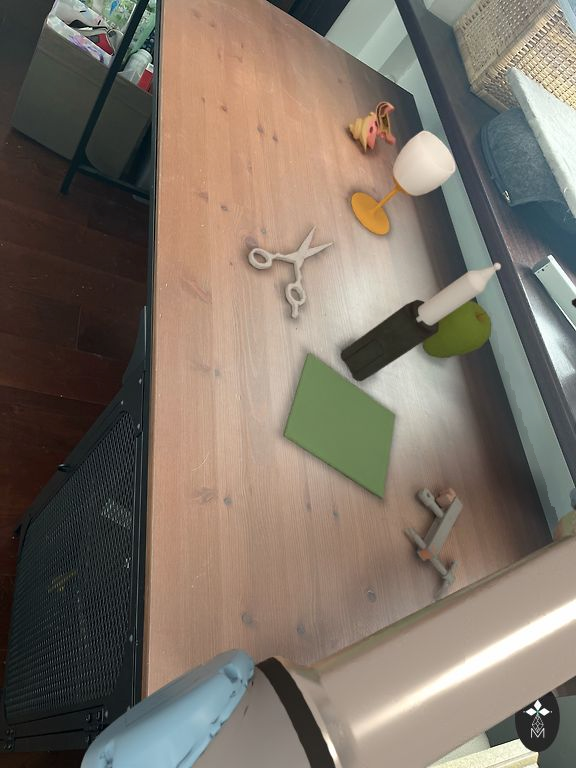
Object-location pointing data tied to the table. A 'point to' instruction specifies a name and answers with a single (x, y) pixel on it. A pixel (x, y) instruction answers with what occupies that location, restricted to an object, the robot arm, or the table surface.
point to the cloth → (341, 425)
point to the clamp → (438, 531)
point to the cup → (408, 178)
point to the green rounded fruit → (460, 332)
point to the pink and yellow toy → (374, 126)
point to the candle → (411, 325)
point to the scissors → (297, 260)
